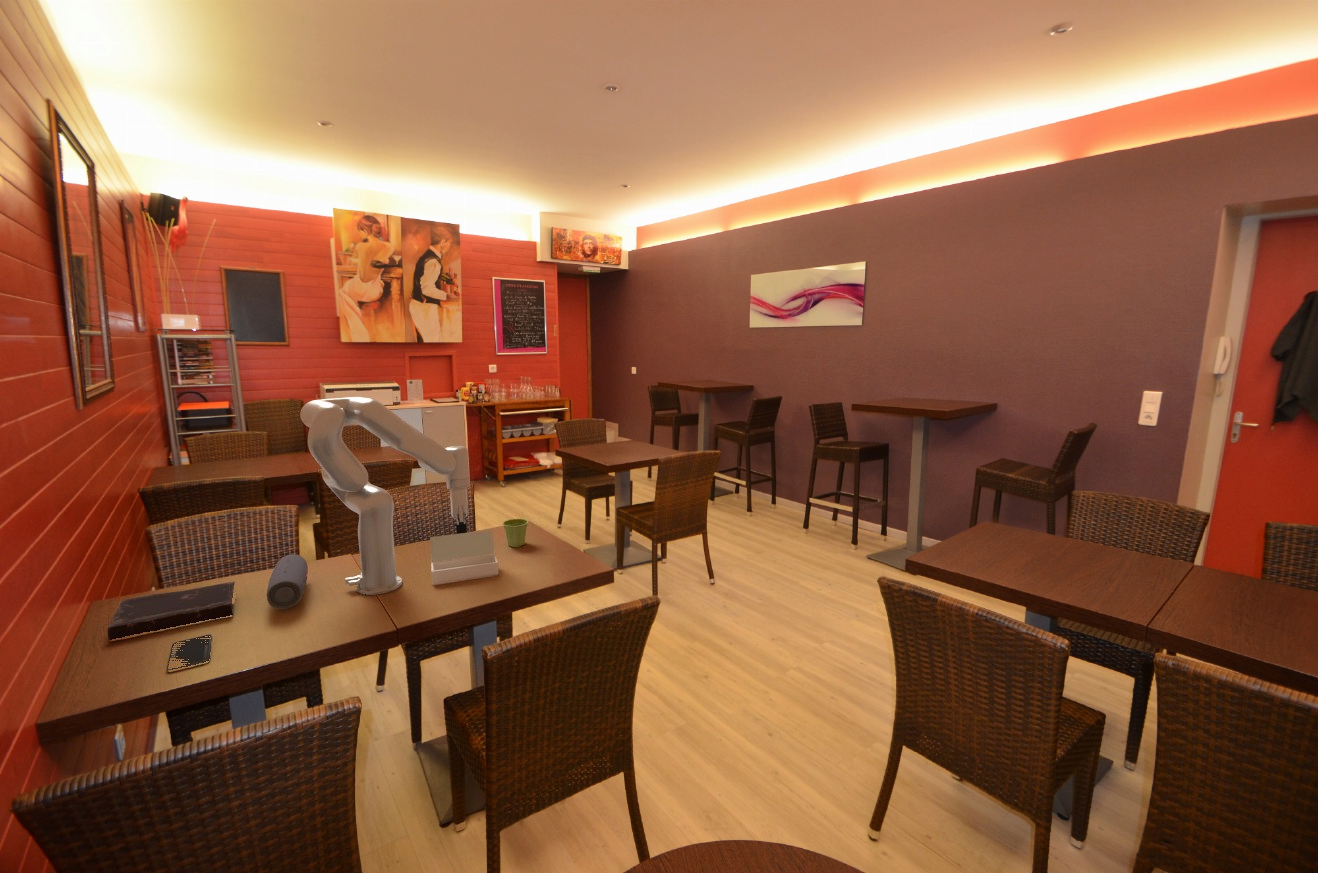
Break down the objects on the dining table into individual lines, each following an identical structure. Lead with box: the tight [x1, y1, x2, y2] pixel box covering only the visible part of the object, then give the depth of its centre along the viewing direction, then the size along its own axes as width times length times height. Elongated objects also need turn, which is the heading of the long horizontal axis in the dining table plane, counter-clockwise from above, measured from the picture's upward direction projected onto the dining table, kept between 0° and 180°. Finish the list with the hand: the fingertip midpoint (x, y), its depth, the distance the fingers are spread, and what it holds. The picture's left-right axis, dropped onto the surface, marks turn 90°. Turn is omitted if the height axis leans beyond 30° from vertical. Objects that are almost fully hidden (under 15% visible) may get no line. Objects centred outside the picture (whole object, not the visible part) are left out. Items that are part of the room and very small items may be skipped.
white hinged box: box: [430, 553, 500, 586], centre depth 184 cm, size 20×8×4 cm, turn 113°
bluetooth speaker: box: [266, 553, 309, 610], centre depth 168 cm, size 23×9×10 cm, turn 28°
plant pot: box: [502, 518, 529, 548], centre depth 213 cm, size 9×9×9 cm
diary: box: [106, 580, 236, 641], centre depth 156 cm, size 19×25×5 cm
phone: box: [166, 634, 213, 671], centre depth 138 cm, size 8×1×15 cm
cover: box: [429, 529, 495, 562], centre depth 188 cm, size 20×8×1 cm
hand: (461, 534), depth 195 cm, fingers closed
